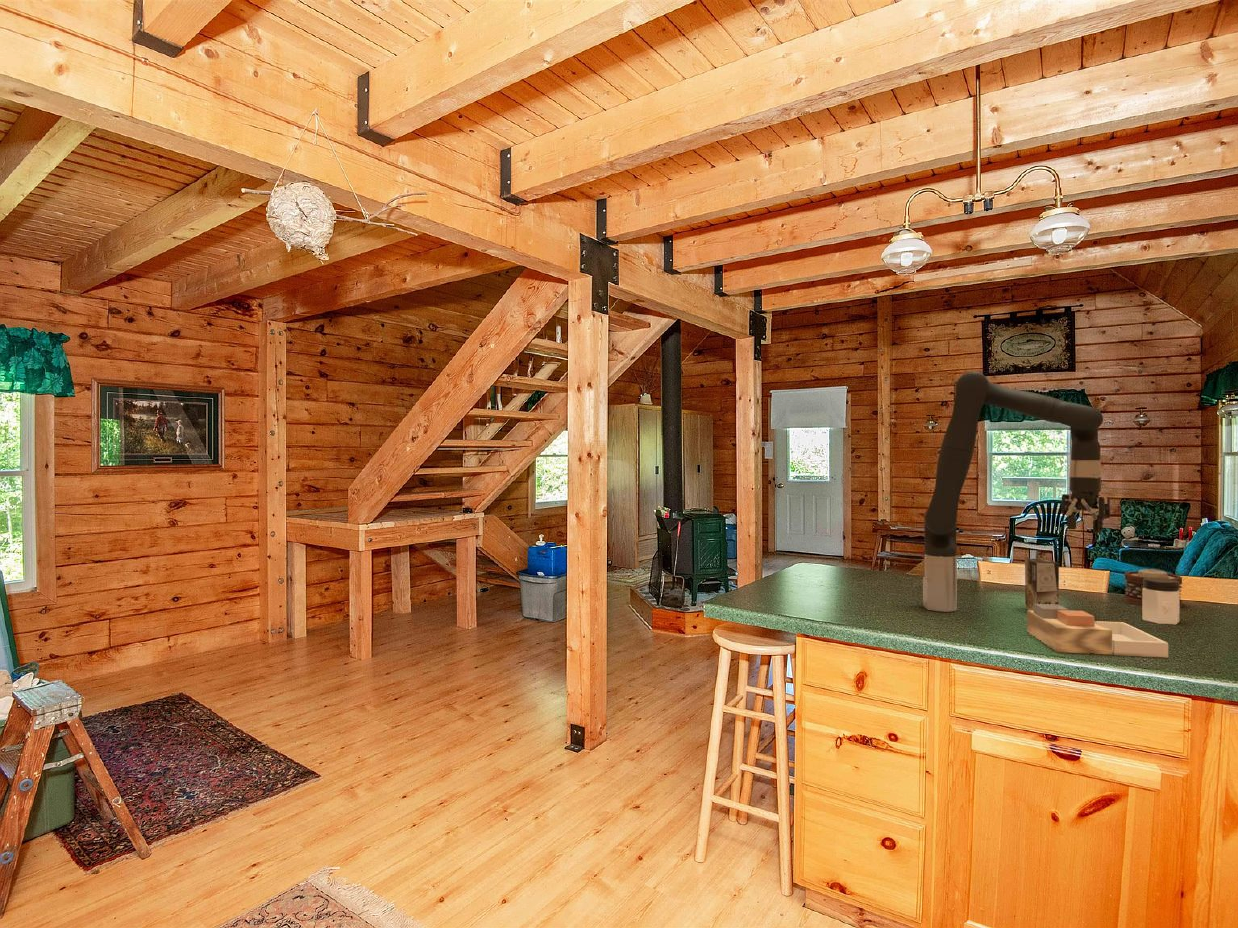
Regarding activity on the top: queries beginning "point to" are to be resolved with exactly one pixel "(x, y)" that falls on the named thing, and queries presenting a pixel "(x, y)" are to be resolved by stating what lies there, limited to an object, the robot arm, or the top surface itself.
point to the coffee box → (1041, 582)
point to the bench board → (1070, 635)
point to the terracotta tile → (1075, 618)
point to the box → (1134, 641)
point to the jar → (1160, 600)
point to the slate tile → (1047, 610)
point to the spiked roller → (1136, 584)
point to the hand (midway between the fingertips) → (1084, 531)
